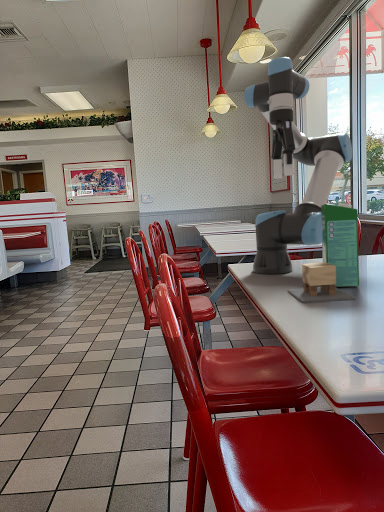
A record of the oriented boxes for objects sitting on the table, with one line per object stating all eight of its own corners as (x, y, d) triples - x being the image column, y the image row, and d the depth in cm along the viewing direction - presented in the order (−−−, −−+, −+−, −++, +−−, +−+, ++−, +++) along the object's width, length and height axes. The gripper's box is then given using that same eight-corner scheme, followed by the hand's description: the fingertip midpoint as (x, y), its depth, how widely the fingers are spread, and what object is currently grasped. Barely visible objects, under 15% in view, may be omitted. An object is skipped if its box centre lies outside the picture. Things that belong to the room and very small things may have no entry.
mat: (287, 291, 115) (287, 289, 115) (333, 288, 115) (333, 286, 115) (302, 302, 101) (302, 300, 101) (354, 299, 101) (354, 297, 101)
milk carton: (359, 286, 113) (357, 201, 112) (327, 286, 115) (324, 203, 113) (352, 282, 122) (351, 203, 120) (323, 282, 124) (321, 205, 122)
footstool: (302, 291, 111) (302, 264, 110) (326, 289, 112) (326, 262, 111) (310, 296, 105) (310, 267, 104) (336, 294, 105) (335, 266, 104)
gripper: (261, 119, 136) (263, 180, 139) (279, 100, 111) (281, 174, 114) (282, 118, 136) (284, 179, 139) (305, 98, 111) (306, 173, 114)
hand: (283, 177), depth 126 cm, fingers open, 13 cm apart
